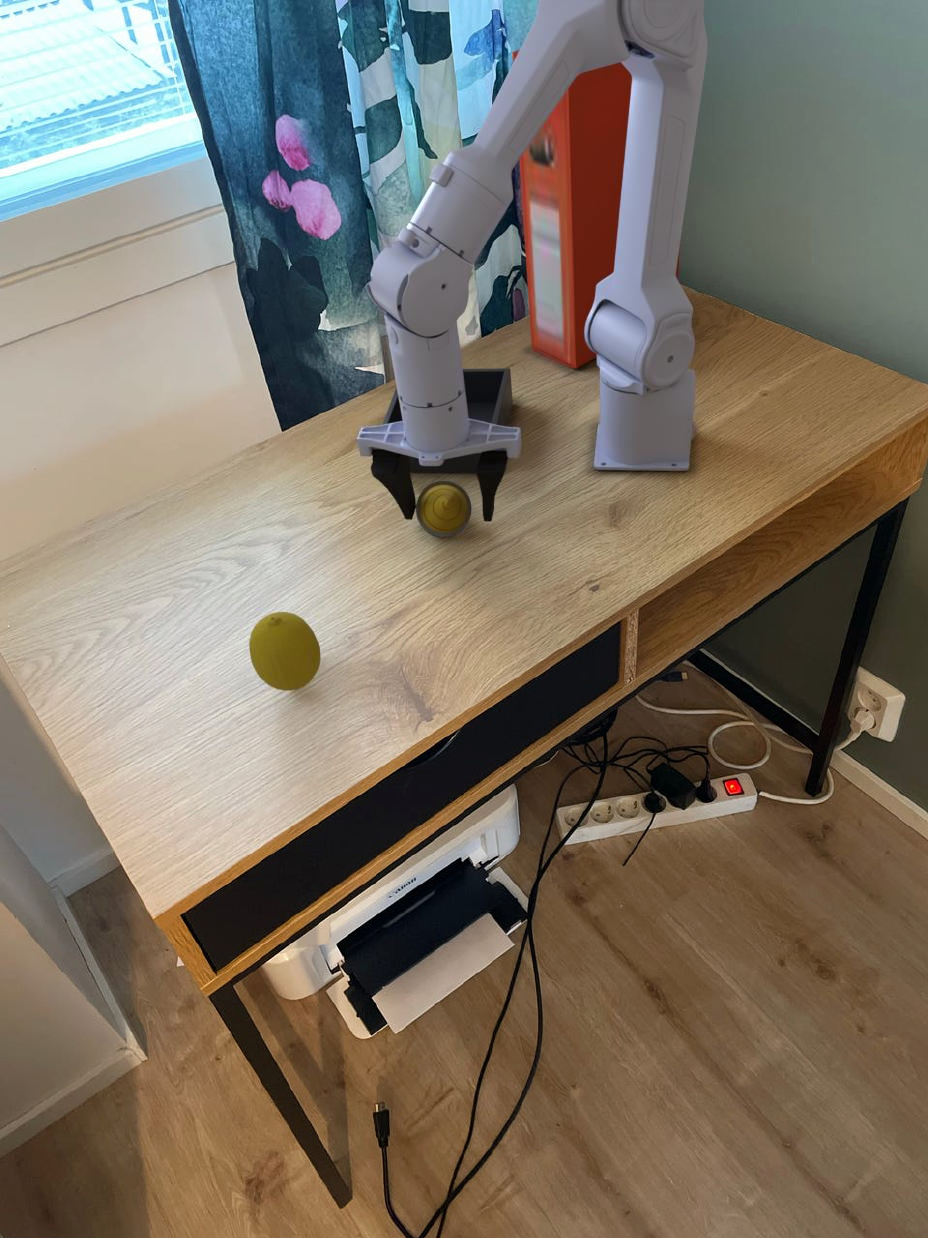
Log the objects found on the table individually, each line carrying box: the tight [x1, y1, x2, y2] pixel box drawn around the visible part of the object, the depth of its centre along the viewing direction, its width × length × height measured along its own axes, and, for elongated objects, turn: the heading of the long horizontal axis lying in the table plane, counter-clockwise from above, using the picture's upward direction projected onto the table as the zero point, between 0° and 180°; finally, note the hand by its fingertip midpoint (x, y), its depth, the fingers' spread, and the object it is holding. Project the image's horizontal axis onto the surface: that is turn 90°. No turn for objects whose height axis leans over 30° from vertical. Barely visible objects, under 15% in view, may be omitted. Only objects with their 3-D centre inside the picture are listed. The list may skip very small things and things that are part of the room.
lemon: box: [248, 611, 321, 692], centre depth 73 cm, size 6×6×8 cm
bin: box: [381, 367, 514, 474], centre depth 97 cm, size 12×13×4 cm
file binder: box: [512, 49, 681, 370], centre depth 100 cm, size 8×17×32 cm, turn 129°
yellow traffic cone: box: [415, 480, 473, 538], centre depth 85 cm, size 5×5×10 cm
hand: (449, 514), depth 86 cm, fingers open, 7 cm apart
